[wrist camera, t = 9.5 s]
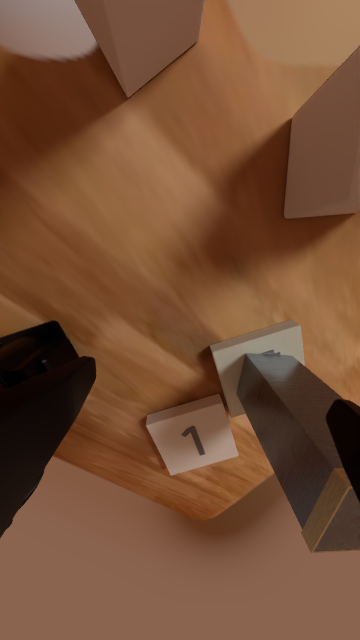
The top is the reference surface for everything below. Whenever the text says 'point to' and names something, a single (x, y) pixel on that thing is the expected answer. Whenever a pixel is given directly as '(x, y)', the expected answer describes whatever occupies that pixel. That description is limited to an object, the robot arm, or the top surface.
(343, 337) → the top surface
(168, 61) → the milk
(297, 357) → the tile
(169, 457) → the tile
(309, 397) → the tea tin
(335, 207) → the medicine bottle
